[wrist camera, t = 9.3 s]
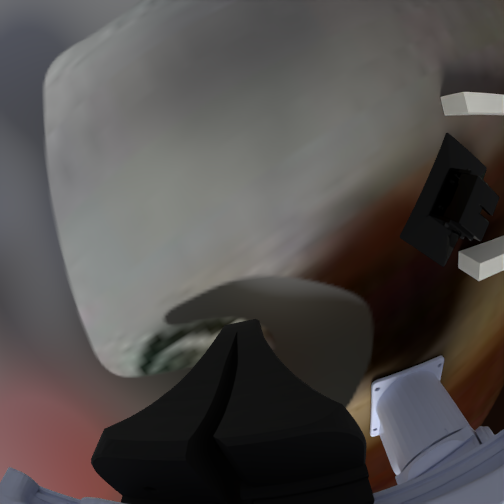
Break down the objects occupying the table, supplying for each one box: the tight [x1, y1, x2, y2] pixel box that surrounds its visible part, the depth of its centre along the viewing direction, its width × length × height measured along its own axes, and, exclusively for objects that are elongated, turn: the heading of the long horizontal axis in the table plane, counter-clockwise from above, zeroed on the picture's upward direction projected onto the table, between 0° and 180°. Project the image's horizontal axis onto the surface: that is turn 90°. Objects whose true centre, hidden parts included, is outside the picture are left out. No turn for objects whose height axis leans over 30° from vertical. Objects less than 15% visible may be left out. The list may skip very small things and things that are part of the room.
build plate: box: [400, 133, 499, 267], centre depth 17 cm, size 12×7×5 cm, turn 155°
